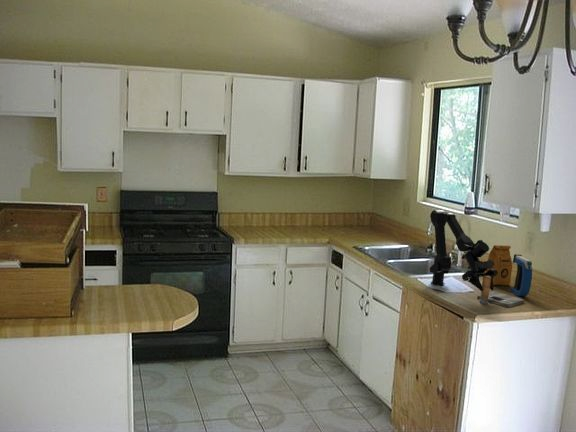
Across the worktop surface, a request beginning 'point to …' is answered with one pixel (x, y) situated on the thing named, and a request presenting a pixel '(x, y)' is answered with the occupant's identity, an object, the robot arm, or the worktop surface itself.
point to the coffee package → (501, 264)
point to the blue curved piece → (522, 276)
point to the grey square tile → (503, 299)
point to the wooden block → (485, 289)
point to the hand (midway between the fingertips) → (487, 290)
